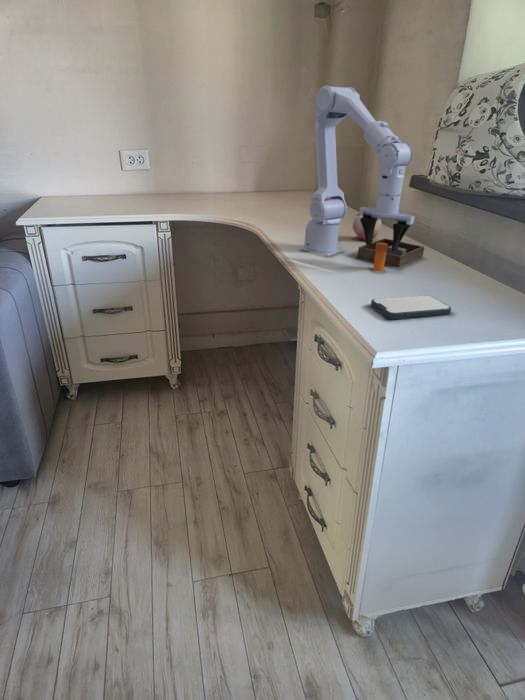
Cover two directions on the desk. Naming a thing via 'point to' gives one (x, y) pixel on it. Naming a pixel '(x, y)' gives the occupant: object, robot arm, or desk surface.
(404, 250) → the eraser
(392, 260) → the box
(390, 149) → the robot arm
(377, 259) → the glue stick
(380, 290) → the desk surface
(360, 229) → the decorative fruit
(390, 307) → the phone case
